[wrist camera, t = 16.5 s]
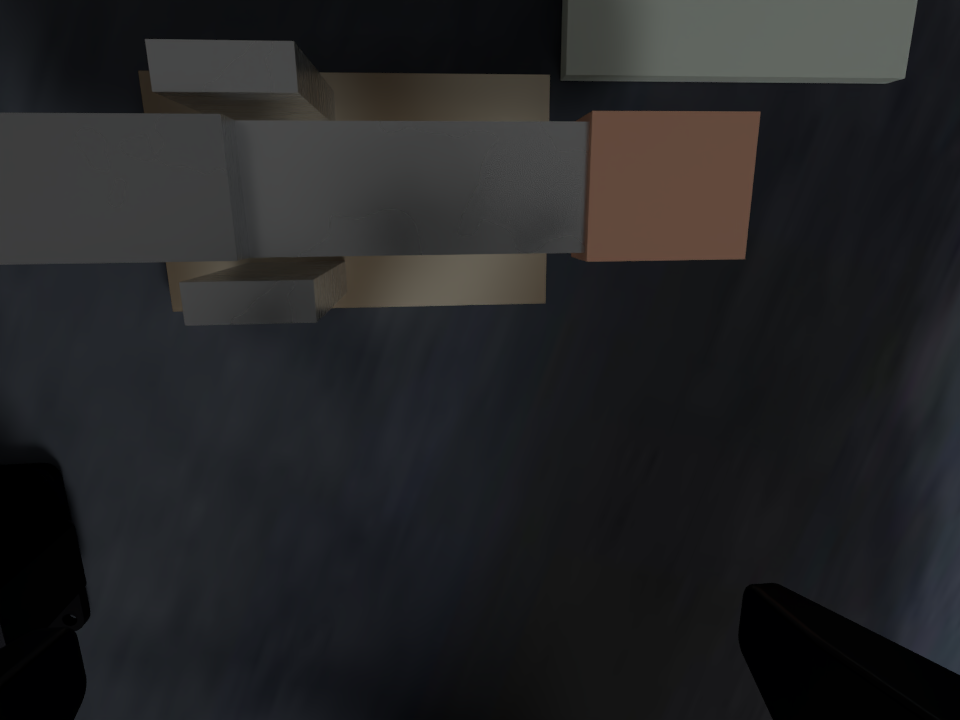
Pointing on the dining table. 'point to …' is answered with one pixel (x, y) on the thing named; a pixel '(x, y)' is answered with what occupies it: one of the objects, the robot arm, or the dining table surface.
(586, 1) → the pad
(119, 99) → the dining table surface
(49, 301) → the dining table surface
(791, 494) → the dining table surface
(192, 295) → the base
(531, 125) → the cutter handle
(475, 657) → the dining table surface
